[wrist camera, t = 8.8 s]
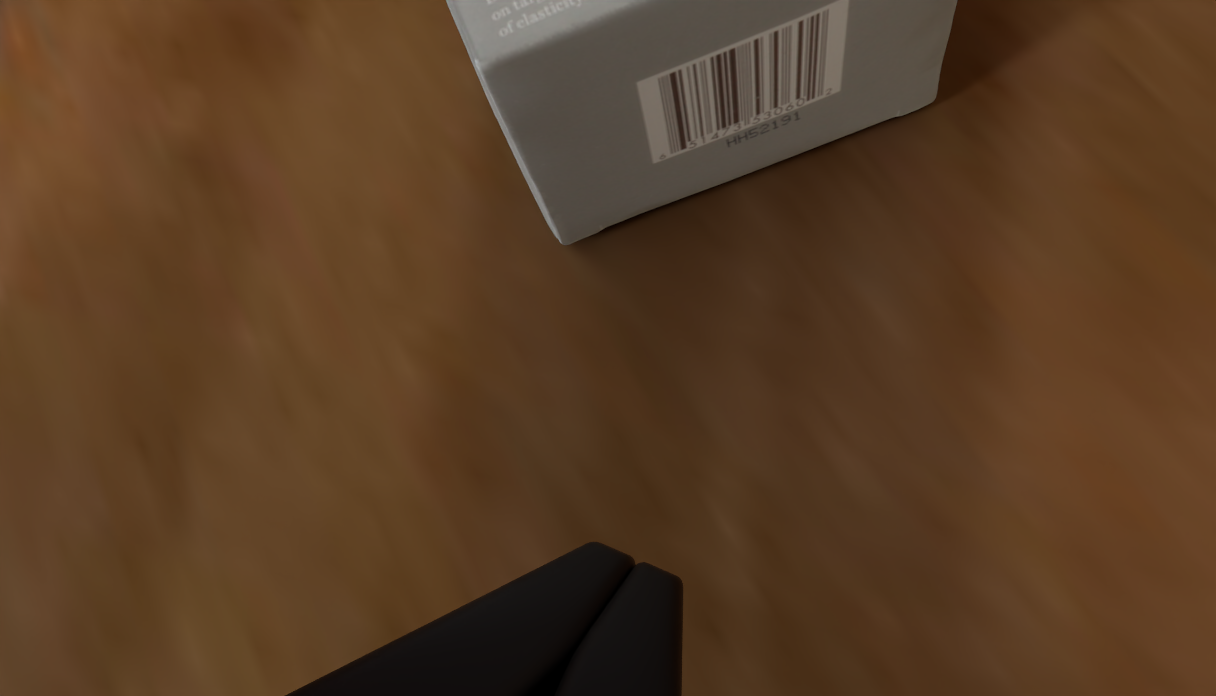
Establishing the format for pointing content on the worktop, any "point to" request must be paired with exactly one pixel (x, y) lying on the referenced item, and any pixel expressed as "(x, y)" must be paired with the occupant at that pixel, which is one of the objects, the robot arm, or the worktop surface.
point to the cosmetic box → (688, 89)
